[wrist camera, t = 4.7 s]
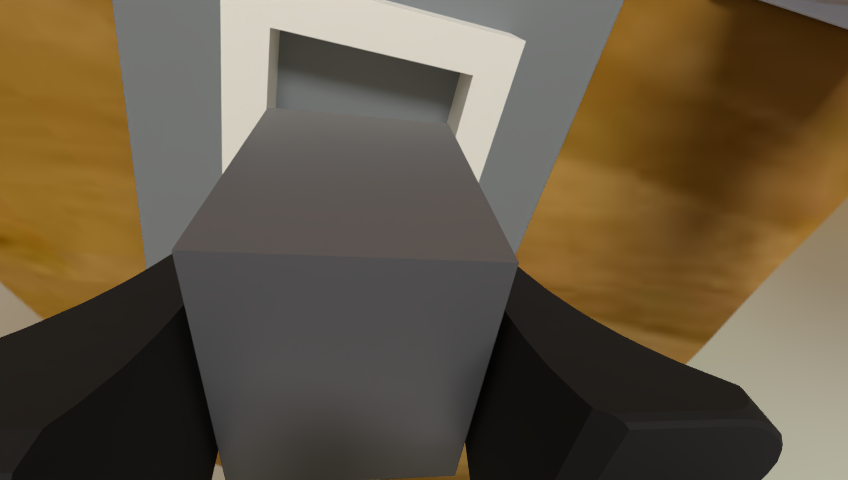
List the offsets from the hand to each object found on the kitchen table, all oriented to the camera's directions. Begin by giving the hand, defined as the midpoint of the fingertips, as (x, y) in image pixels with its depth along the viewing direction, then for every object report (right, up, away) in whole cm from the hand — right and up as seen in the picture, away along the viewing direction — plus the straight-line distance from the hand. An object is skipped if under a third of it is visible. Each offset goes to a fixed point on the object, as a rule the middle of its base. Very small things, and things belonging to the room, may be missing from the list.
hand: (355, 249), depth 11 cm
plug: (0, +2, +2) cm, 3 cm away
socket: (-1, +5, +8) cm, 10 cm away
